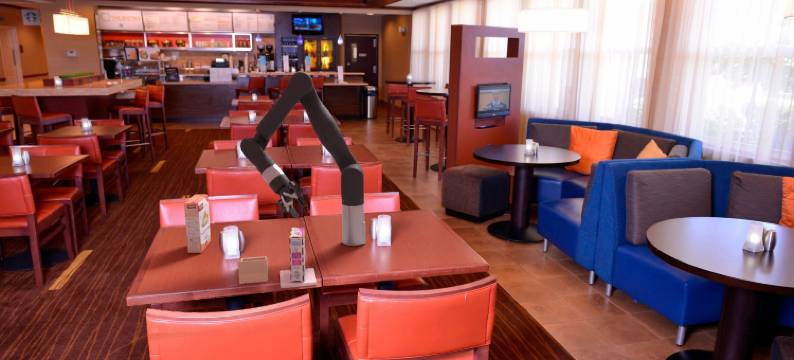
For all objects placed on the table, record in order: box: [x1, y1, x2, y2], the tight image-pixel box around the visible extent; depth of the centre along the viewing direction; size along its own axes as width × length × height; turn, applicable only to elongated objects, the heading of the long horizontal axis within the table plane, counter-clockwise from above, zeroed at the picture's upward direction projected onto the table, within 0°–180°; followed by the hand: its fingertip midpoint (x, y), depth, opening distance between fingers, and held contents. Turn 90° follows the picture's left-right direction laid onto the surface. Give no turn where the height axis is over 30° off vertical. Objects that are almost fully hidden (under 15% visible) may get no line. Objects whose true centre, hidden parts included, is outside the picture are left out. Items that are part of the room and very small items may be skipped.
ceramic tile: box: [279, 267, 318, 289], centre depth 188 cm, size 12×13×1 cm
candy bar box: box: [288, 227, 307, 282], centre depth 186 cm, size 11×5×16 cm, turn 7°
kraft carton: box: [237, 255, 269, 285], centre depth 193 cm, size 10×19×8 cm, turn 14°
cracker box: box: [183, 194, 212, 254], centre depth 216 cm, size 14×6×21 cm, turn 3°
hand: (301, 211), depth 204 cm, fingers open, 8 cm apart
